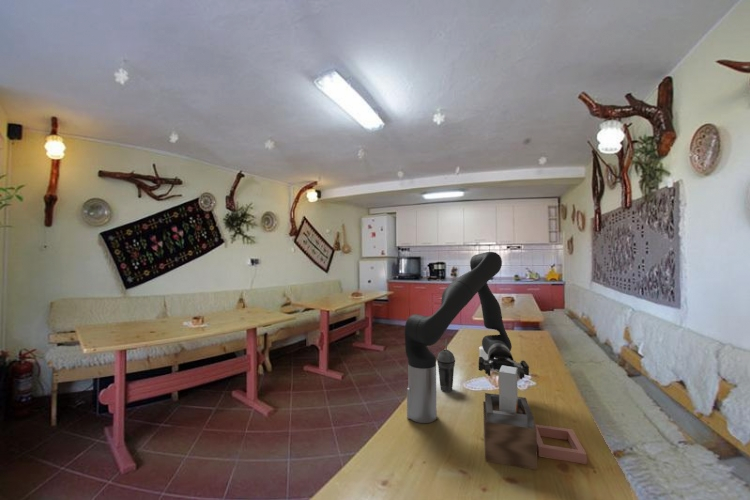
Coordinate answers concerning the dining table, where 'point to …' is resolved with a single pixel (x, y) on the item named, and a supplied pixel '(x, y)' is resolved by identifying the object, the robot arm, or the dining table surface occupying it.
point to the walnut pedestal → (509, 434)
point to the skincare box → (508, 389)
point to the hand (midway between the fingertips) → (504, 374)
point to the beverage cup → (446, 369)
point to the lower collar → (560, 453)
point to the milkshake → (483, 353)
